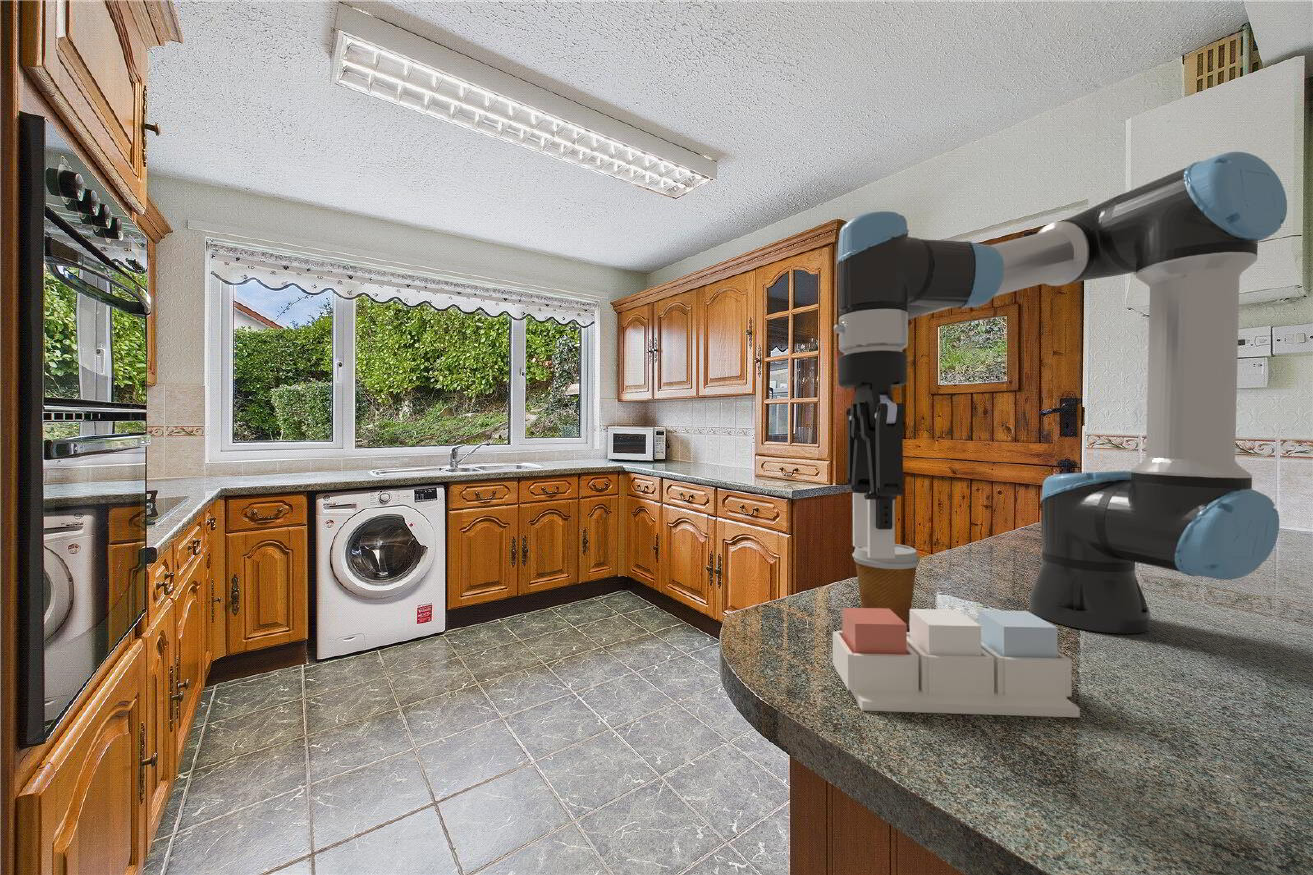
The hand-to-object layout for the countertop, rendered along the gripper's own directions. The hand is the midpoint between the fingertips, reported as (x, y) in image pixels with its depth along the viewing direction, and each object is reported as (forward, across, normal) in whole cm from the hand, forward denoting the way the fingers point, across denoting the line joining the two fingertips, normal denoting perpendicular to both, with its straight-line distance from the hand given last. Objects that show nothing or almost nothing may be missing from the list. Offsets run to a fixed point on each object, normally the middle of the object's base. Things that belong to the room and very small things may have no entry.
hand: (872, 551), depth 64 cm
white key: (+12, 0, +8) cm, 14 cm away
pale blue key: (+12, 0, +16) cm, 20 cm away
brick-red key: (+12, 0, 0) cm, 12 cm away
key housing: (+16, 0, +8) cm, 18 cm away
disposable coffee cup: (+16, -20, +8) cm, 27 cm away
